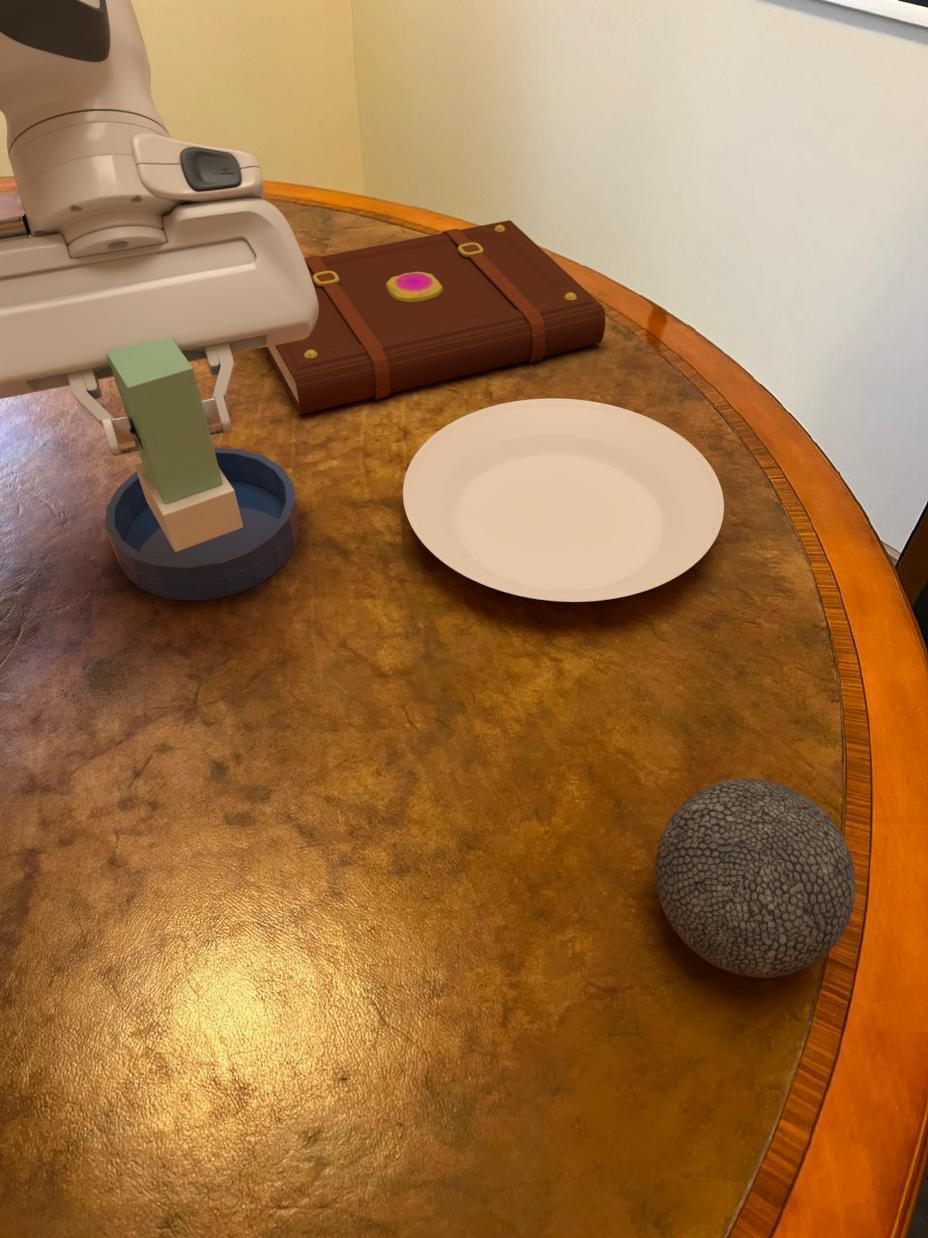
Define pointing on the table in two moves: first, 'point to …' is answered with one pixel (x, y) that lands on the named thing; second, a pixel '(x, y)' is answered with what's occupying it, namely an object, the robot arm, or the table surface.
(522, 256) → the book
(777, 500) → the table surface
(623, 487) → the white dinner plate
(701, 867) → the decorative ball
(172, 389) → the green block on base
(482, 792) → the table surface
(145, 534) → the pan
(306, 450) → the table surface
